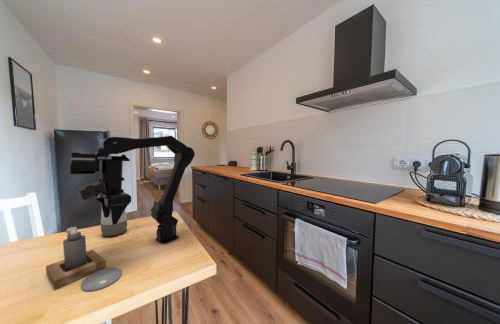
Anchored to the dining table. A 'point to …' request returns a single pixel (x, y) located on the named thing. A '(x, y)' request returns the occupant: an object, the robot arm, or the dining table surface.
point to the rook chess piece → (71, 230)
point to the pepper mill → (74, 250)
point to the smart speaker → (111, 229)
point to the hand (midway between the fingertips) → (110, 220)
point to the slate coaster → (101, 279)
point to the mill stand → (74, 270)
